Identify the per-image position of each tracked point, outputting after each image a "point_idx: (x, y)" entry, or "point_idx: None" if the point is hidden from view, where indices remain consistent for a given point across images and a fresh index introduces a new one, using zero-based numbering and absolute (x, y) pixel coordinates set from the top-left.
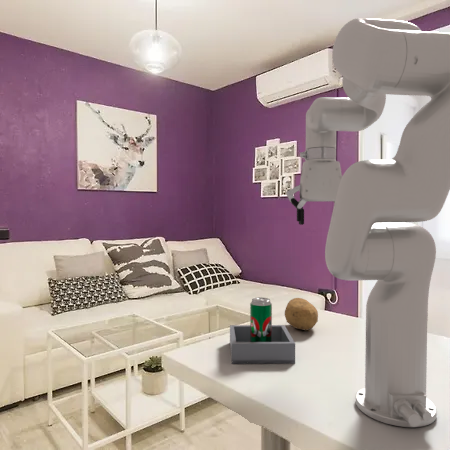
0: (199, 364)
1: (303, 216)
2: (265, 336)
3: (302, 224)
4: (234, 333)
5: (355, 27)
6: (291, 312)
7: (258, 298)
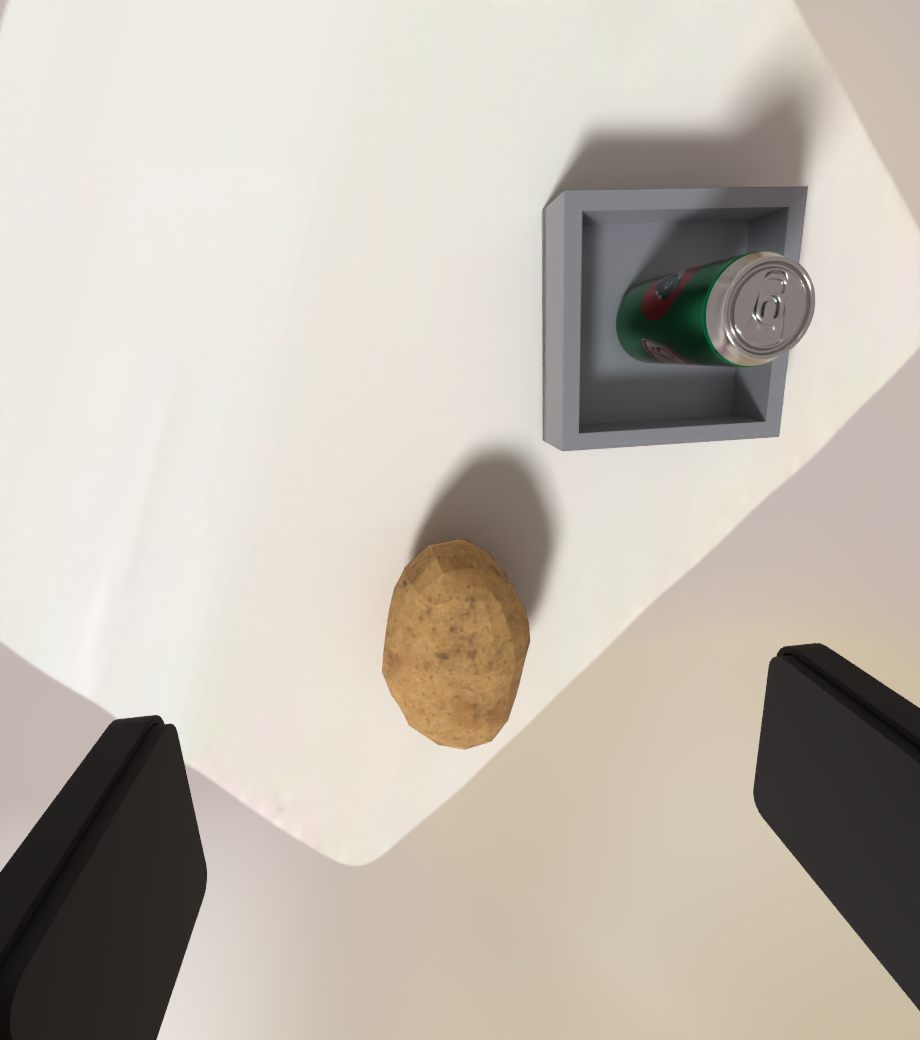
0: (860, 204)
1: (884, 722)
2: (669, 274)
3: (789, 649)
4: None
5: None
6: (512, 593)
7: (773, 344)
